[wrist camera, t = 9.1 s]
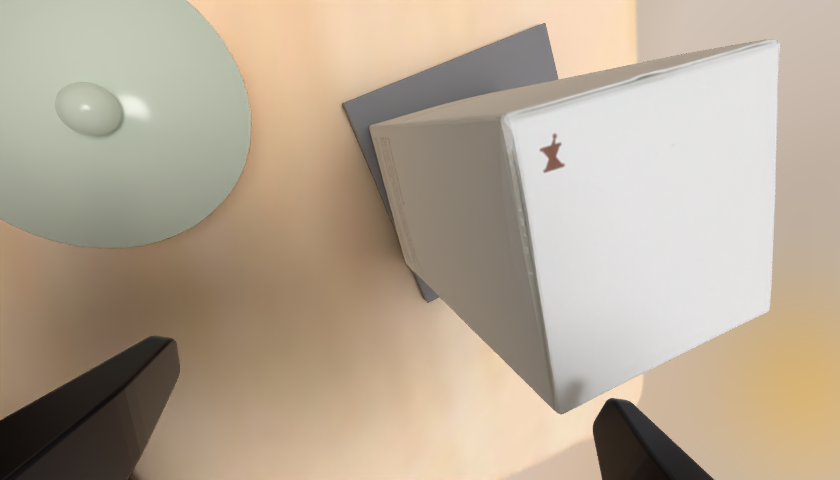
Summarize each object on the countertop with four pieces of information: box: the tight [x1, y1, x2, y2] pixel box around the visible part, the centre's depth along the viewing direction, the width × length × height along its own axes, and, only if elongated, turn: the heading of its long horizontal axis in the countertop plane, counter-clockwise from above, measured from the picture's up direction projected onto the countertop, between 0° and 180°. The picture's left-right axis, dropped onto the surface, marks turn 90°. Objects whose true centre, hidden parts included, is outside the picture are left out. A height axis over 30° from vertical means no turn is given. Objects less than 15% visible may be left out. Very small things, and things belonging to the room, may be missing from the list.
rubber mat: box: [342, 23, 558, 303], centre depth 21 cm, size 11×11×1 cm
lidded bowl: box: [0, 0, 252, 248], centre depth 14 cm, size 9×9×5 cm
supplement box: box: [369, 39, 780, 414], centre depth 15 cm, size 7×7×13 cm
